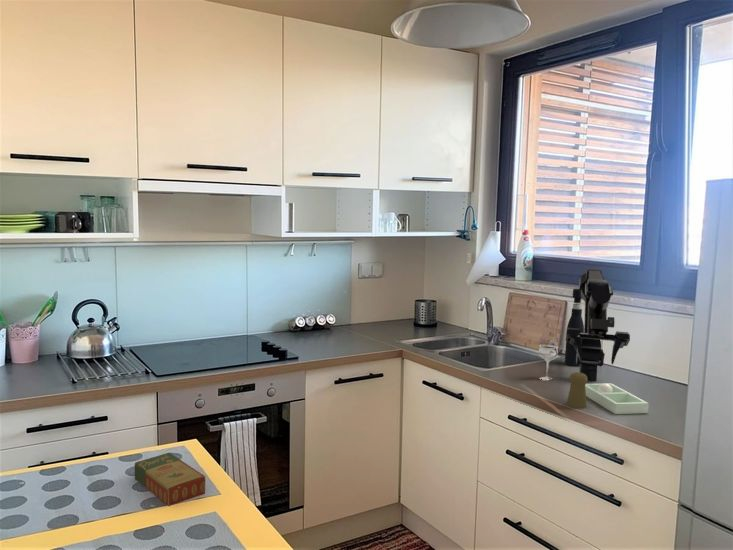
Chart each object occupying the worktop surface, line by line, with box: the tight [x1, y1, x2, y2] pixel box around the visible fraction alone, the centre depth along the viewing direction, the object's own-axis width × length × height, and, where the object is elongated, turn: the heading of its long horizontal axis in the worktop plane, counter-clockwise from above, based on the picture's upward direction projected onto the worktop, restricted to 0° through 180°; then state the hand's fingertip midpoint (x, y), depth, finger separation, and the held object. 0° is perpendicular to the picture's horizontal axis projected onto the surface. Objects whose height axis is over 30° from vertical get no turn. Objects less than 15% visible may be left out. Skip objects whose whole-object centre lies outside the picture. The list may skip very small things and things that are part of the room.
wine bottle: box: [564, 288, 584, 368], centre depth 233 cm, size 6×6×30 cm
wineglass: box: [538, 343, 559, 381], centre depth 213 cm, size 7×7×12 cm
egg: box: [597, 382, 613, 393], centre depth 190 cm, size 5×5×5 cm
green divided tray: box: [585, 382, 649, 415], centre depth 186 cm, size 20×10×4 cm, turn 9°
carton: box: [134, 452, 206, 507], centre depth 125 cm, size 8×16×4 cm, turn 44°
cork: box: [566, 371, 589, 409], centre depth 182 cm, size 6×6×11 cm
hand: (596, 362), depth 186 cm, fingers open, 9 cm apart
